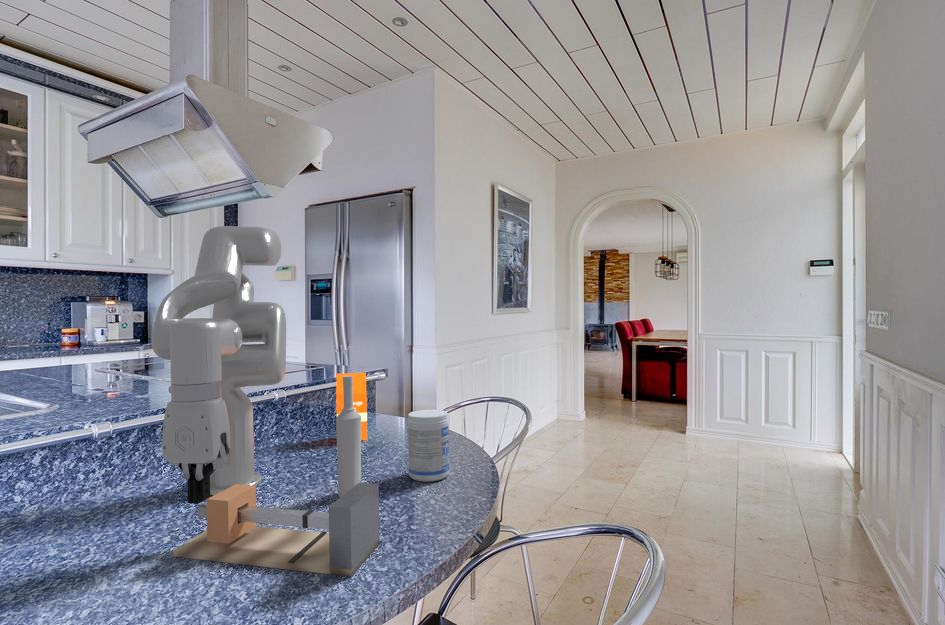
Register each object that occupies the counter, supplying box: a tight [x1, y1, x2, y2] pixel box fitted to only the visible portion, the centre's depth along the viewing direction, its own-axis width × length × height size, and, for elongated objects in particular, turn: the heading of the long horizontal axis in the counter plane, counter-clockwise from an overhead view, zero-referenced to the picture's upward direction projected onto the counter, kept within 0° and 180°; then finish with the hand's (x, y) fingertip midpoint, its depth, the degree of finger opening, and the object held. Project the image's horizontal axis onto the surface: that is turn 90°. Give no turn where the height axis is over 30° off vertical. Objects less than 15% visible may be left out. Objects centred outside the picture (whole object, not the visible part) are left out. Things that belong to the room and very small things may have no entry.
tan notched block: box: [206, 484, 258, 544], centre depth 80 cm, size 4×7×7 cm, turn 167°
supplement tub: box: [407, 409, 450, 483], centre depth 113 cm, size 10×10×15 cm
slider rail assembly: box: [197, 482, 381, 578], centre depth 79 cm, size 30×10×10 cm, turn 77°
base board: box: [172, 525, 381, 578], centre depth 79 cm, size 31×10×1 cm, turn 77°
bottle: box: [335, 376, 362, 498], centre depth 102 cm, size 5×5×25 cm
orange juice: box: [335, 372, 368, 441], centre depth 146 cm, size 8×9×20 cm
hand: (199, 500), depth 82 cm, fingers closed
